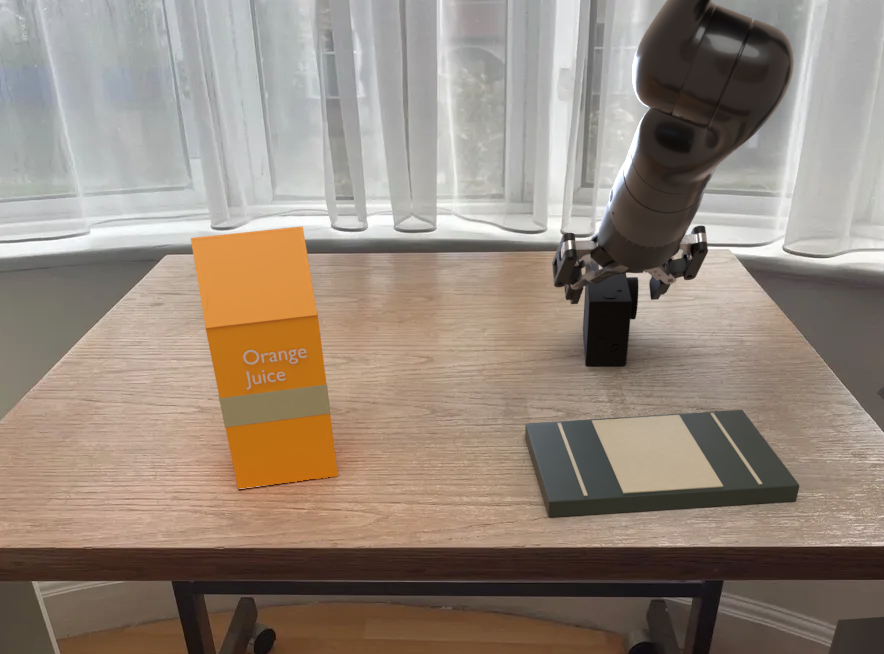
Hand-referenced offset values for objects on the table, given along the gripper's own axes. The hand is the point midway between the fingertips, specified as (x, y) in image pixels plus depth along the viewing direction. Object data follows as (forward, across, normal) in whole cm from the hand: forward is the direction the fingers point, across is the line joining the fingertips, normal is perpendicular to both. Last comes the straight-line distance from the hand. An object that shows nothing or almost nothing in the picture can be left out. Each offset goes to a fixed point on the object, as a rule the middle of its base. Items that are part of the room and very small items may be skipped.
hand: (613, 293), depth 95 cm
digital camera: (+5, 0, -4) cm, 6 cm away
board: (-14, -2, -23) cm, 27 cm away
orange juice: (-10, -34, -20) cm, 41 cm away
